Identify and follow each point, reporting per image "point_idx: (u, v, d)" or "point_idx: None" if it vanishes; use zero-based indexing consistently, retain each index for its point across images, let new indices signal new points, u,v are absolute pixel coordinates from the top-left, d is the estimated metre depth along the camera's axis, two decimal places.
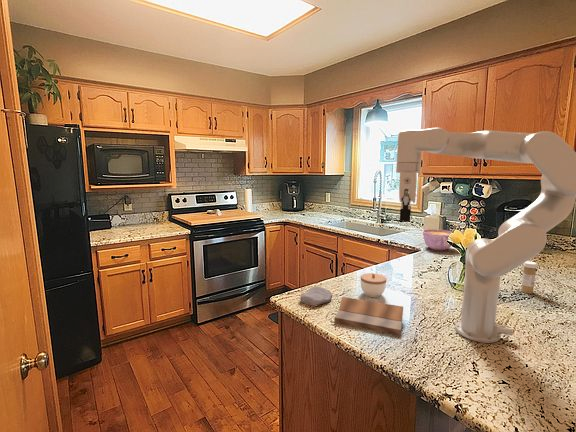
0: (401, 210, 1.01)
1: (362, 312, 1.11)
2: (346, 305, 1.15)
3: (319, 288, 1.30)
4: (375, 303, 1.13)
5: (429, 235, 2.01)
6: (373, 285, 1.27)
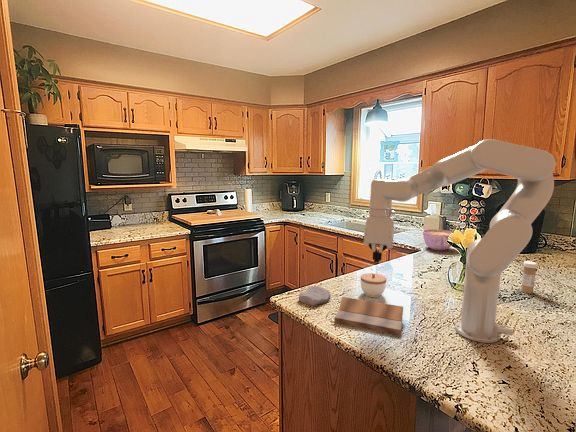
0: (379, 253, 1.13)
1: (362, 312, 1.11)
2: (346, 305, 1.15)
3: (317, 287, 1.30)
4: (375, 303, 1.13)
5: (429, 235, 2.01)
6: (373, 285, 1.27)
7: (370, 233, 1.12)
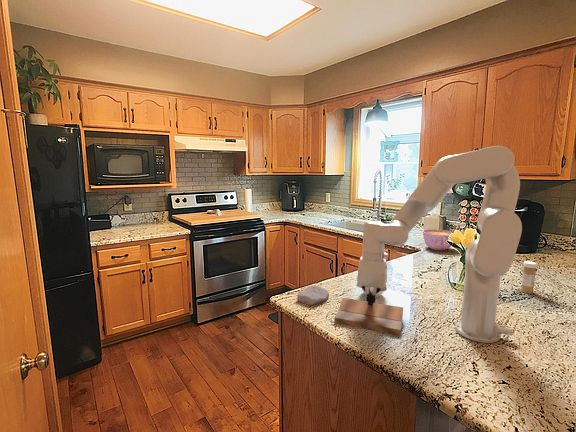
0: (372, 296, 1.12)
1: (362, 312, 1.12)
2: (346, 305, 1.15)
3: (316, 287, 1.31)
4: (375, 304, 1.14)
5: (429, 235, 2.01)
6: None
7: (363, 276, 1.11)
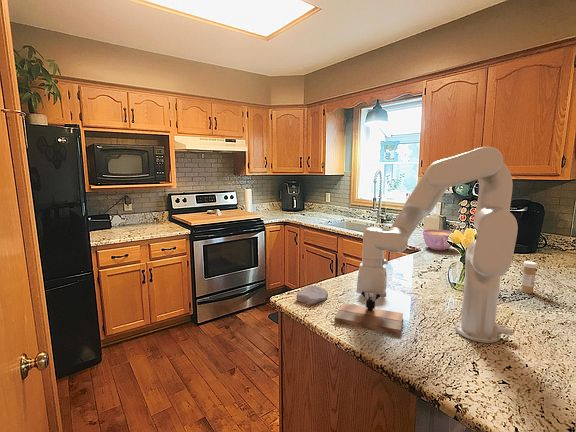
0: (372, 302, 1.12)
1: (362, 313, 1.12)
2: (346, 307, 1.16)
3: (315, 287, 1.31)
4: (375, 309, 1.14)
5: (429, 235, 2.01)
6: None
7: (363, 282, 1.12)
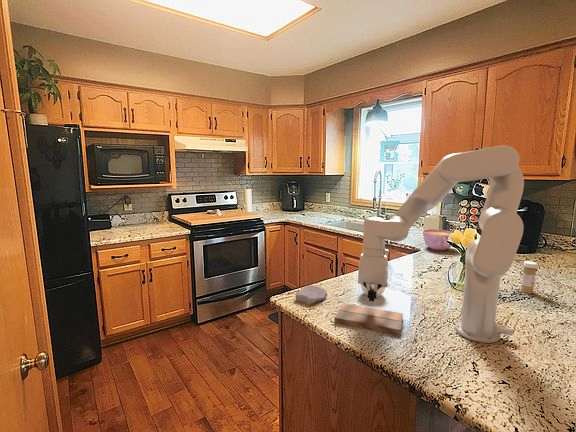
0: (373, 292, 1.12)
1: (362, 313, 1.12)
2: (346, 307, 1.16)
3: (314, 287, 1.31)
4: (375, 309, 1.14)
5: (429, 235, 2.01)
6: (373, 285, 1.27)
7: (364, 272, 1.11)
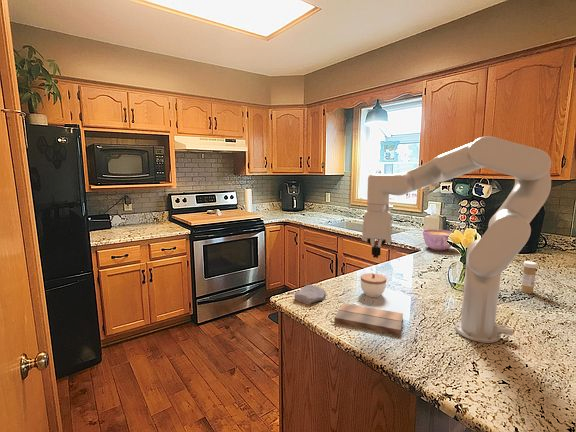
0: (378, 248, 1.13)
1: (362, 313, 1.12)
2: (346, 307, 1.16)
3: (313, 286, 1.32)
4: (375, 309, 1.14)
5: (429, 235, 2.01)
6: (373, 285, 1.27)
7: (369, 228, 1.12)
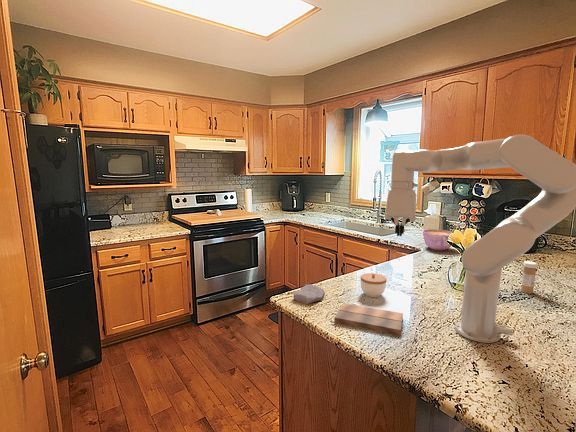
0: (401, 226, 1.13)
1: (362, 313, 1.12)
2: (346, 307, 1.16)
3: (312, 286, 1.32)
4: (375, 309, 1.14)
5: (429, 235, 2.01)
6: (373, 285, 1.27)
7: (393, 206, 1.12)
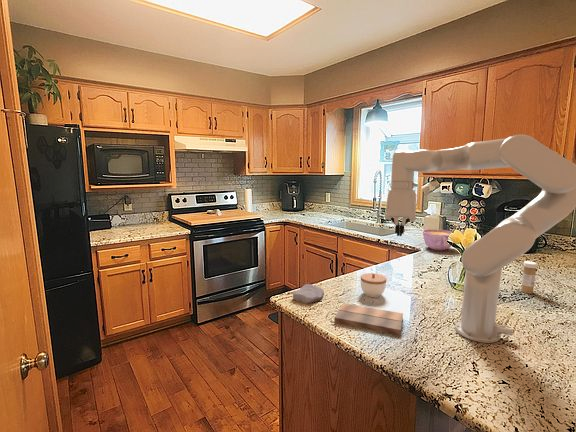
0: (401, 226, 1.13)
1: (362, 313, 1.12)
2: (346, 307, 1.16)
3: (311, 286, 1.32)
4: (375, 309, 1.14)
5: (429, 235, 2.01)
6: (373, 285, 1.27)
7: (393, 206, 1.12)
